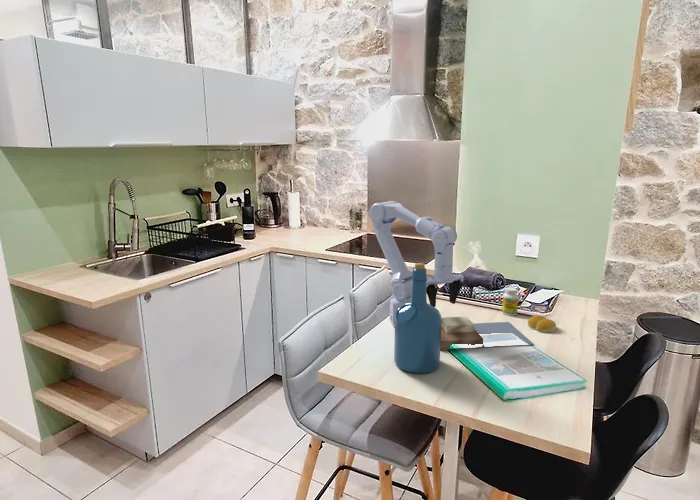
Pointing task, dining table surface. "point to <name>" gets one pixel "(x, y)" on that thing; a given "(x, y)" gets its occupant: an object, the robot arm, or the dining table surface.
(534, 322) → the bread roll
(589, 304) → the dining table surface
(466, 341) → the board
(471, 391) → the dining table surface
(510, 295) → the supplement bottle
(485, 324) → the mat
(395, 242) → the robot arm
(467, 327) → the tile
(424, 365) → the wine bottle
